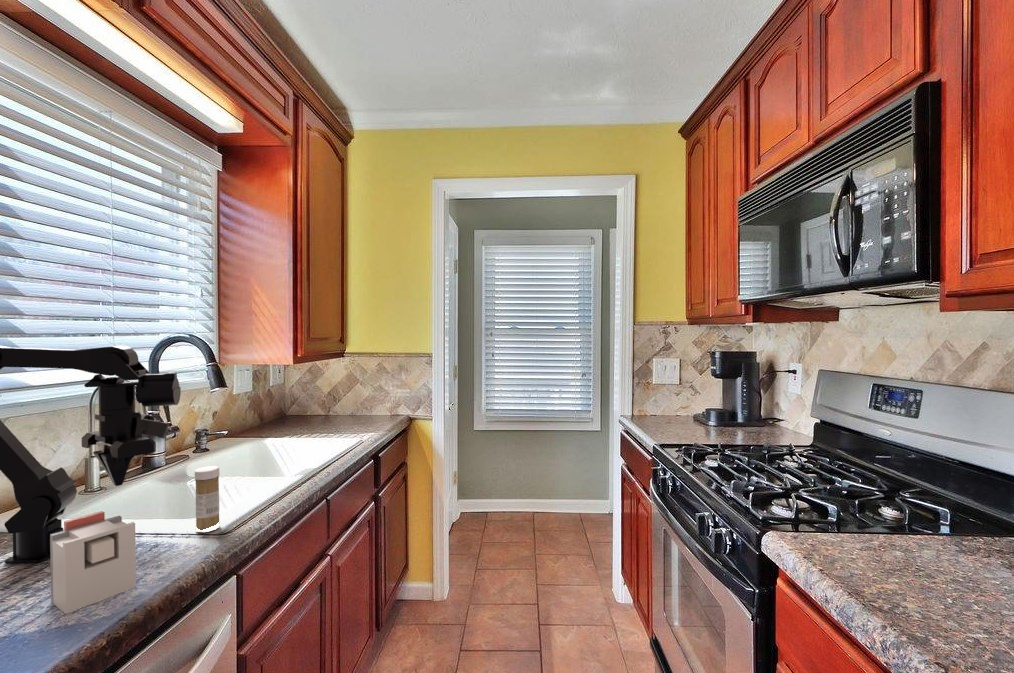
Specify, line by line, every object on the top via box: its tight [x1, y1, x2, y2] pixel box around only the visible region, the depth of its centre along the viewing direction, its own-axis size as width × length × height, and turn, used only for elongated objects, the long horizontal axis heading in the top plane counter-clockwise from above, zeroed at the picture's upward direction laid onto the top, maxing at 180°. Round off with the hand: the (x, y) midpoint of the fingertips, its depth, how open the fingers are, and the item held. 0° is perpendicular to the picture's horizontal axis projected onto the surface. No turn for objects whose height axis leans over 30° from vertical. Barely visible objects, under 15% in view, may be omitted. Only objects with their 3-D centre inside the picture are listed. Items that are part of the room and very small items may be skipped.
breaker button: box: [63, 510, 114, 563], centre depth 78 cm, size 8×5×6 cm, turn 59°
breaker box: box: [50, 515, 137, 615], centre depth 78 cm, size 6×9×11 cm
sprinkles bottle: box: [194, 465, 221, 530], centre depth 103 cm, size 5×5×14 cm
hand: (118, 485), depth 96 cm, fingers closed
